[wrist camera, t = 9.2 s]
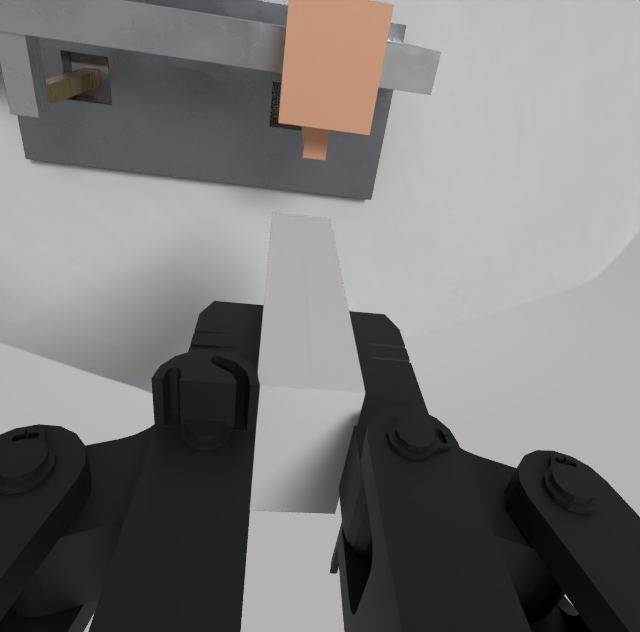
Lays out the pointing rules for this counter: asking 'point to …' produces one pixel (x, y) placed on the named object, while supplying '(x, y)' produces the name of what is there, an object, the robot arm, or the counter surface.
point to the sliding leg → (332, 68)
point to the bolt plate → (198, 118)
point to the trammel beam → (156, 46)
